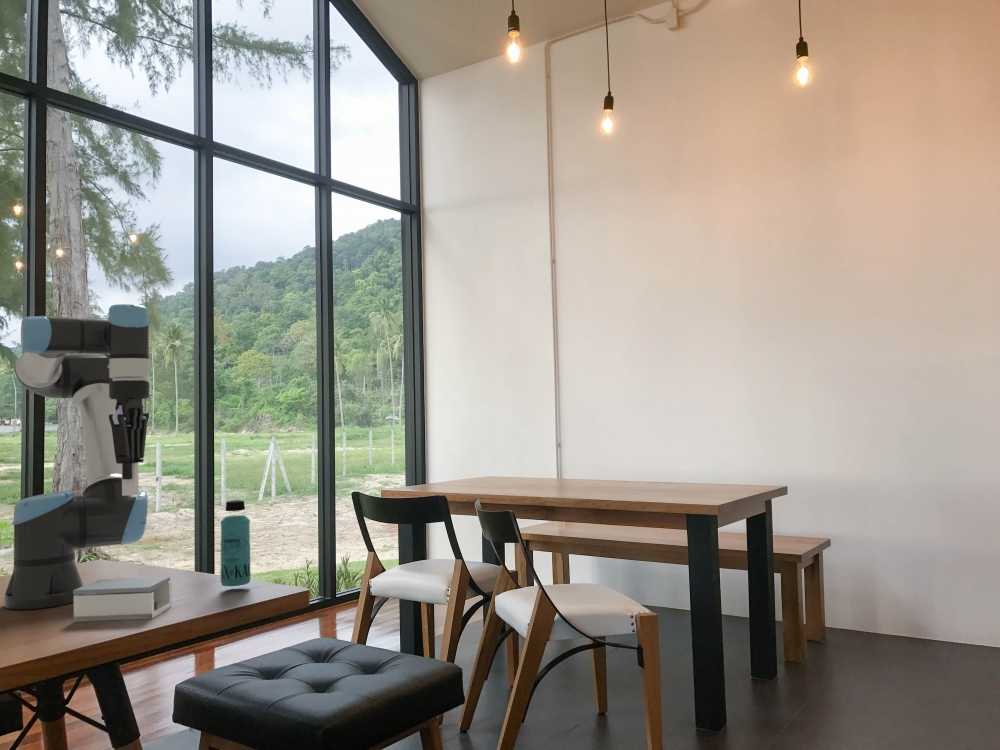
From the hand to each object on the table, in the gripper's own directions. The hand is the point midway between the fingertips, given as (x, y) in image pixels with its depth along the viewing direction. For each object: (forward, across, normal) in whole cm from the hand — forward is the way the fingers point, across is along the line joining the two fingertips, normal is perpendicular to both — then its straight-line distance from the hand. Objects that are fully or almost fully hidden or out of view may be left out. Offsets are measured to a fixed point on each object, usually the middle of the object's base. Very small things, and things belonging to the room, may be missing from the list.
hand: (130, 494), depth 162 cm
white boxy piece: (+24, +2, 0) cm, 24 cm away
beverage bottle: (+24, -16, +16) cm, 33 cm away
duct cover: (+18, +2, 0) cm, 18 cm away
